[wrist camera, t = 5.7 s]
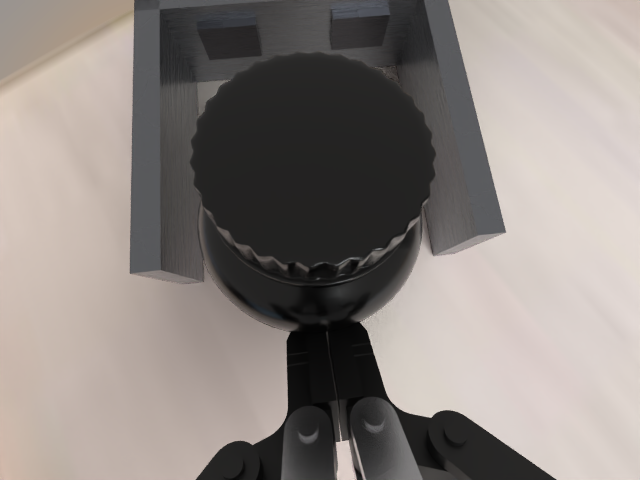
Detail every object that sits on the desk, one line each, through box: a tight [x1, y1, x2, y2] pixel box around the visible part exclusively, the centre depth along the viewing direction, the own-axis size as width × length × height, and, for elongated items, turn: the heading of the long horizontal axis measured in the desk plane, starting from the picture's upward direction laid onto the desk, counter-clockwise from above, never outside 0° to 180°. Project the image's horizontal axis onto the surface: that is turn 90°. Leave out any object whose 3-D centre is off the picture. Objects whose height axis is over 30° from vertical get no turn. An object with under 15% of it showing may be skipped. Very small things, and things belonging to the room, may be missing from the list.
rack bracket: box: [130, 0, 506, 284], centre depth 17 cm, size 14×15×5 cm
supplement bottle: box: [189, 51, 436, 334], centre depth 12 cm, size 7×7×12 cm
